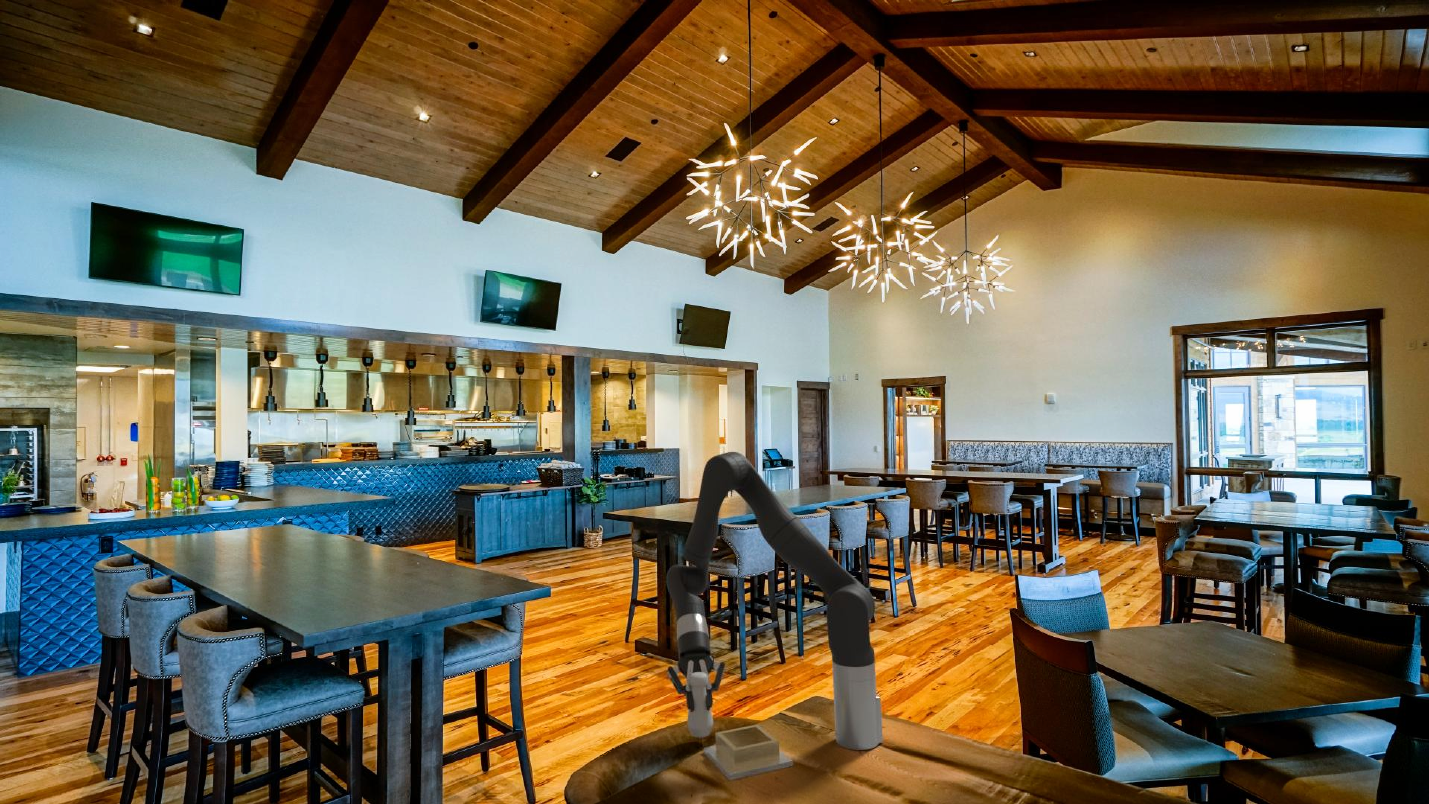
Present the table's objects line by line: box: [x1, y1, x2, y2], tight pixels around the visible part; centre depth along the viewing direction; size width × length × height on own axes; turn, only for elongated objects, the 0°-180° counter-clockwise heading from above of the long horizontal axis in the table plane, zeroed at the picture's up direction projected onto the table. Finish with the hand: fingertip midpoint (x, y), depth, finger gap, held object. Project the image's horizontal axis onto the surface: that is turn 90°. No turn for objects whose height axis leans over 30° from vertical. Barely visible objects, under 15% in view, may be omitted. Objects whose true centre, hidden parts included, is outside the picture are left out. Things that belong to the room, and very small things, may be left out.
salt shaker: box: [686, 672, 714, 738], centre depth 155 cm, size 6×6×13 cm
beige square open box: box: [703, 724, 794, 781], centre depth 145 cm, size 14×14×4 cm
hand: (700, 709), depth 153 cm, fingers closed on salt shaker, 3 cm apart
